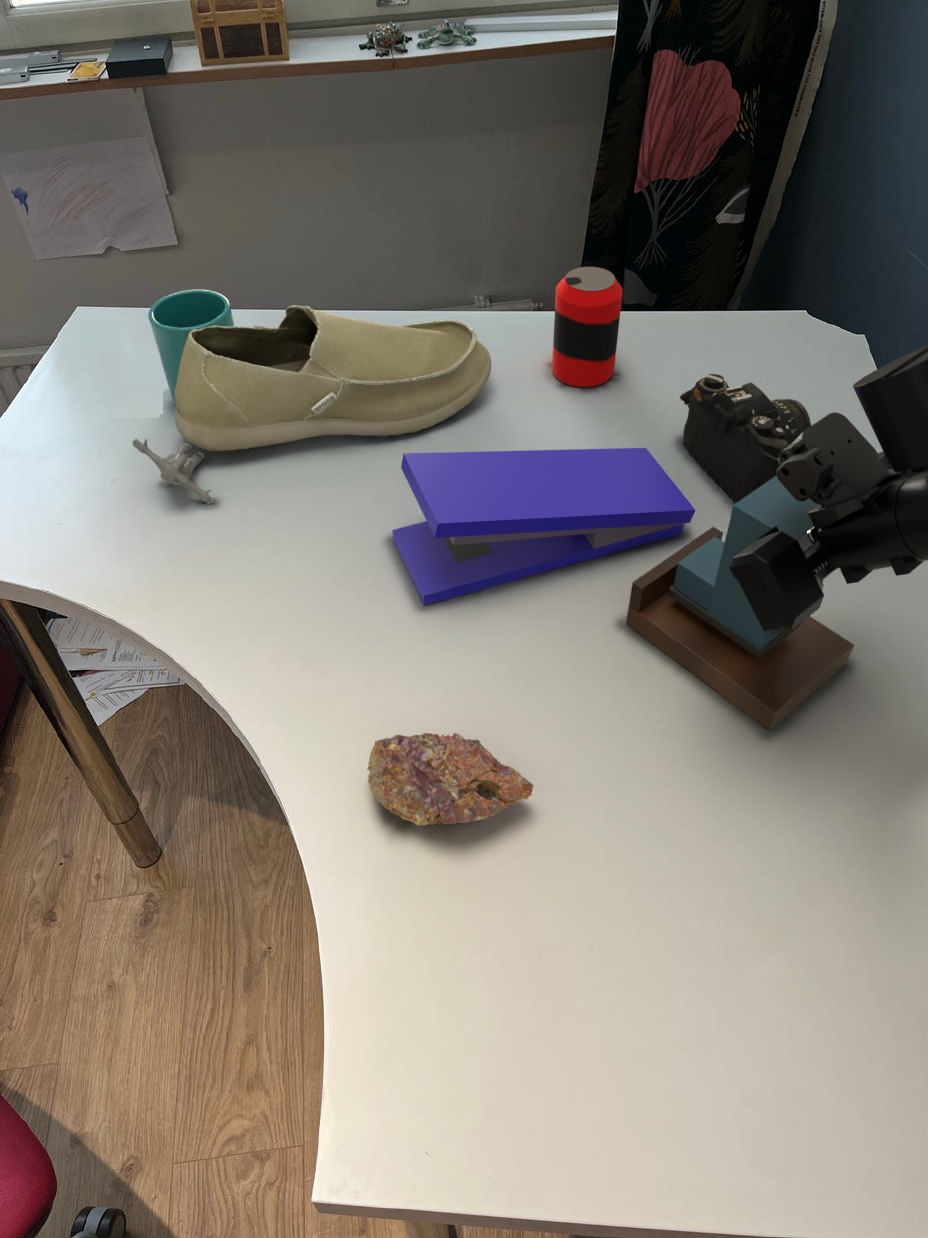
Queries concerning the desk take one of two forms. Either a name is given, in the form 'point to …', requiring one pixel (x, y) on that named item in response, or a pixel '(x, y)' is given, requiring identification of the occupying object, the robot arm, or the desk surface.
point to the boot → (707, 570)
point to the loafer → (323, 379)
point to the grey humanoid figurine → (177, 467)
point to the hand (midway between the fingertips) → (755, 555)
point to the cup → (184, 324)
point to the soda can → (586, 326)
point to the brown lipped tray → (734, 647)
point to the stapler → (529, 513)
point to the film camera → (739, 432)
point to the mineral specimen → (441, 779)
